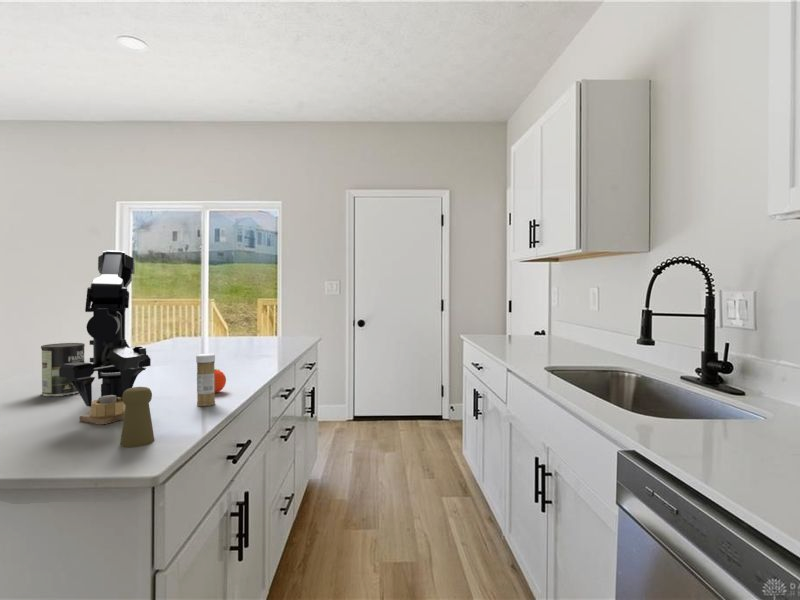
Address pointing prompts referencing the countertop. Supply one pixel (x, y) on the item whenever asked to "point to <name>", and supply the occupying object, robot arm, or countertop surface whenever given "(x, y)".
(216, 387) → the clementine
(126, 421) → the cork
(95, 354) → the robot arm
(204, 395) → the sprinkles bottle
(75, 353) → the coffee can
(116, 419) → the peg stand
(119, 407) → the ring
